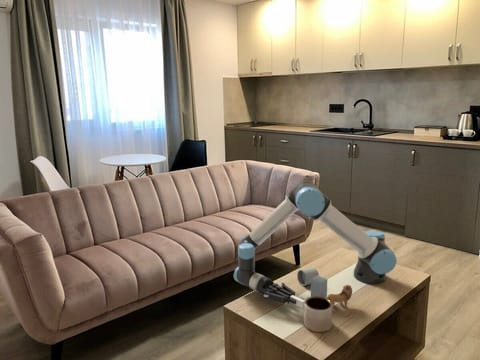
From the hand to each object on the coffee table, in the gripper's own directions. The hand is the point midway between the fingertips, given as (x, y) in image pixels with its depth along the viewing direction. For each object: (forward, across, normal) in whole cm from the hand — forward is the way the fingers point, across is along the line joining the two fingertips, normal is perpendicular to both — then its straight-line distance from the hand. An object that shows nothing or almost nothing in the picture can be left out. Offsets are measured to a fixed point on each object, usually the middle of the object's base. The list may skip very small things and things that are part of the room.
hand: (303, 304), depth 158 cm
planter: (+7, 0, -6) cm, 9 cm away
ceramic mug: (-18, -25, -6) cm, 32 cm away
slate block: (-4, -16, -6) cm, 18 cm away
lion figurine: (+5, -17, -6) cm, 19 cm away
